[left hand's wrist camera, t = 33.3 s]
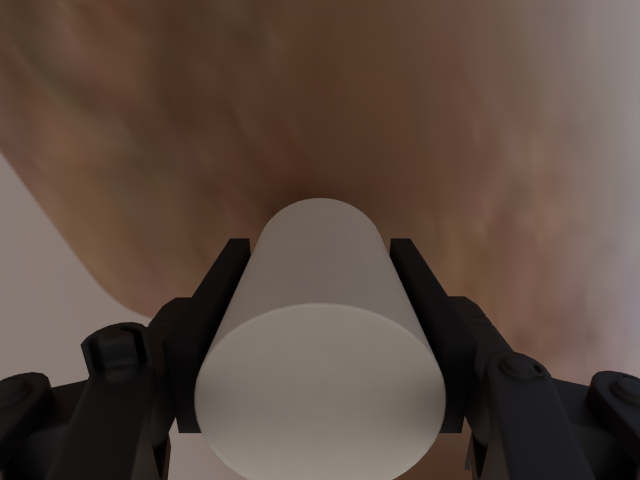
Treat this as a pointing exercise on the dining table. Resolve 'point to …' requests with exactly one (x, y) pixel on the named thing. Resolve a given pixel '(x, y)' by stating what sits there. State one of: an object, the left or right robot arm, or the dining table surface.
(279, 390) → the canister
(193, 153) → the dining table surface
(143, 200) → the dining table surface
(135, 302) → the dining table surface
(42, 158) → the dining table surface
